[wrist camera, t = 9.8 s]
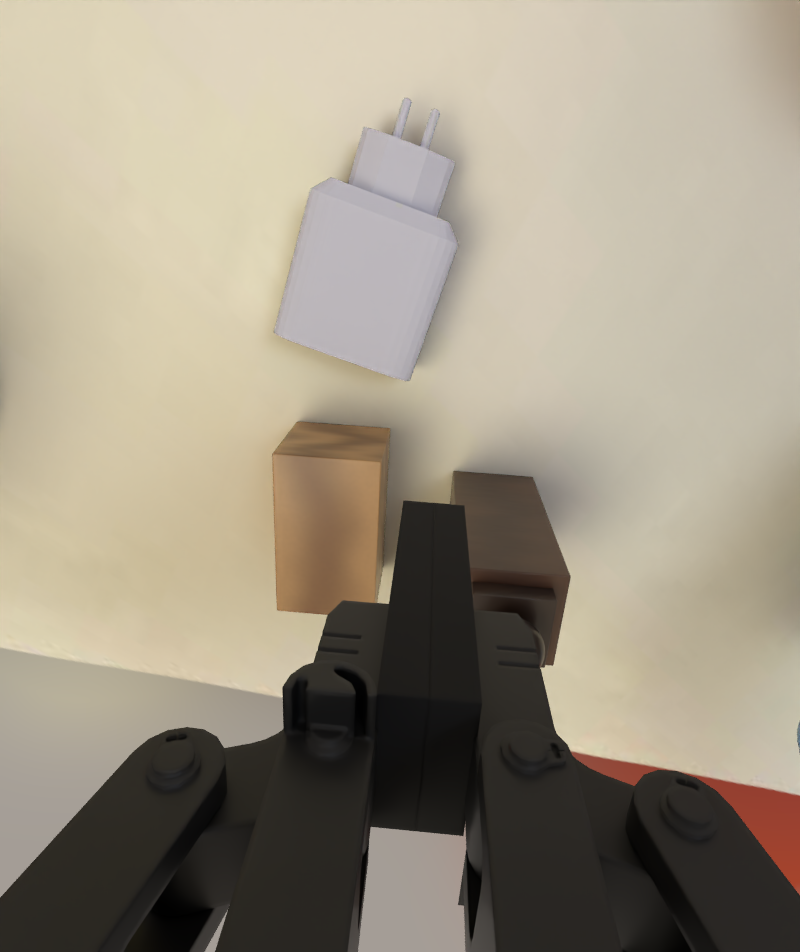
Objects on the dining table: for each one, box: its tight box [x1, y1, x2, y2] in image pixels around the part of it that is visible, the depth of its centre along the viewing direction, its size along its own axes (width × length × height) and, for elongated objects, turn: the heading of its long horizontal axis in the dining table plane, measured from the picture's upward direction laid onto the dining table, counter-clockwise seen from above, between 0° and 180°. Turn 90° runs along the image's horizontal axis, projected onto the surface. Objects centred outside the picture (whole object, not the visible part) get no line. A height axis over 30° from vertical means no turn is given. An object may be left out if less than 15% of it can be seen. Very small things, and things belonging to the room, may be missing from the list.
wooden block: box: [272, 422, 390, 615], centre depth 43 cm, size 7×12×7 cm, turn 177°
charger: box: [274, 98, 459, 381], centre depth 36 cm, size 5×9×15 cm
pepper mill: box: [450, 471, 570, 668], centre depth 38 cm, size 14×6×17 cm
